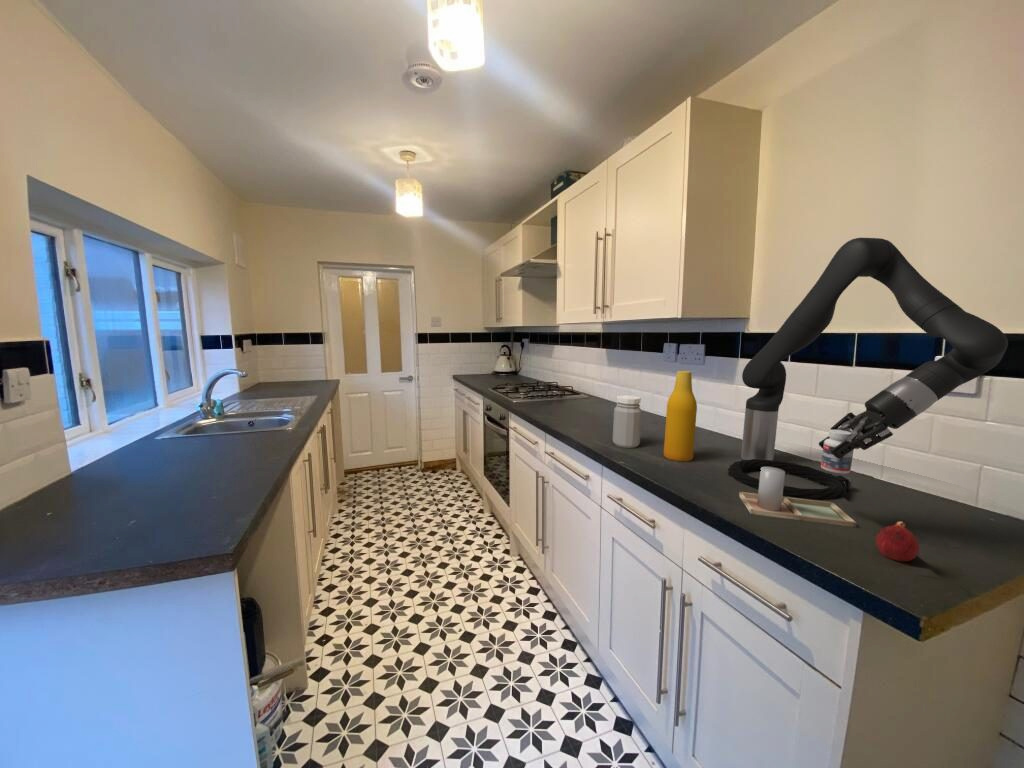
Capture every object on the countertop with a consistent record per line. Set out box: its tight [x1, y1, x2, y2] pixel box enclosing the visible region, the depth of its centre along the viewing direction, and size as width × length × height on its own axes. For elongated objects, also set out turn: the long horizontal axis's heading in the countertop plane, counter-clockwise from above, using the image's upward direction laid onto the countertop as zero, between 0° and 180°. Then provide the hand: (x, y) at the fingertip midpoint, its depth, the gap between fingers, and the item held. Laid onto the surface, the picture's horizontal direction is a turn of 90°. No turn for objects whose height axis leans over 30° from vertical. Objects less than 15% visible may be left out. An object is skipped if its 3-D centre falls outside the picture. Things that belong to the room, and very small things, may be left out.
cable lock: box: [727, 459, 853, 501], centre depth 114 cm, size 28×4×30 cm
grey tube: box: [757, 467, 786, 511], centre depth 96 cm, size 5×5×9 cm
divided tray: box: [738, 491, 858, 528], centre depth 95 cm, size 11×20×2 cm, turn 74°
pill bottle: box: [820, 429, 854, 474], centre depth 91 cm, size 5×5×9 cm
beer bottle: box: [663, 370, 698, 463], centre depth 135 cm, size 9×9×29 cm
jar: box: [612, 394, 643, 449], centre depth 150 cm, size 10×10×18 cm
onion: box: [875, 521, 920, 563], centre depth 75 cm, size 6×6×8 cm
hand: (828, 451), depth 92 cm, fingers closed on pill bottle, 5 cm apart
